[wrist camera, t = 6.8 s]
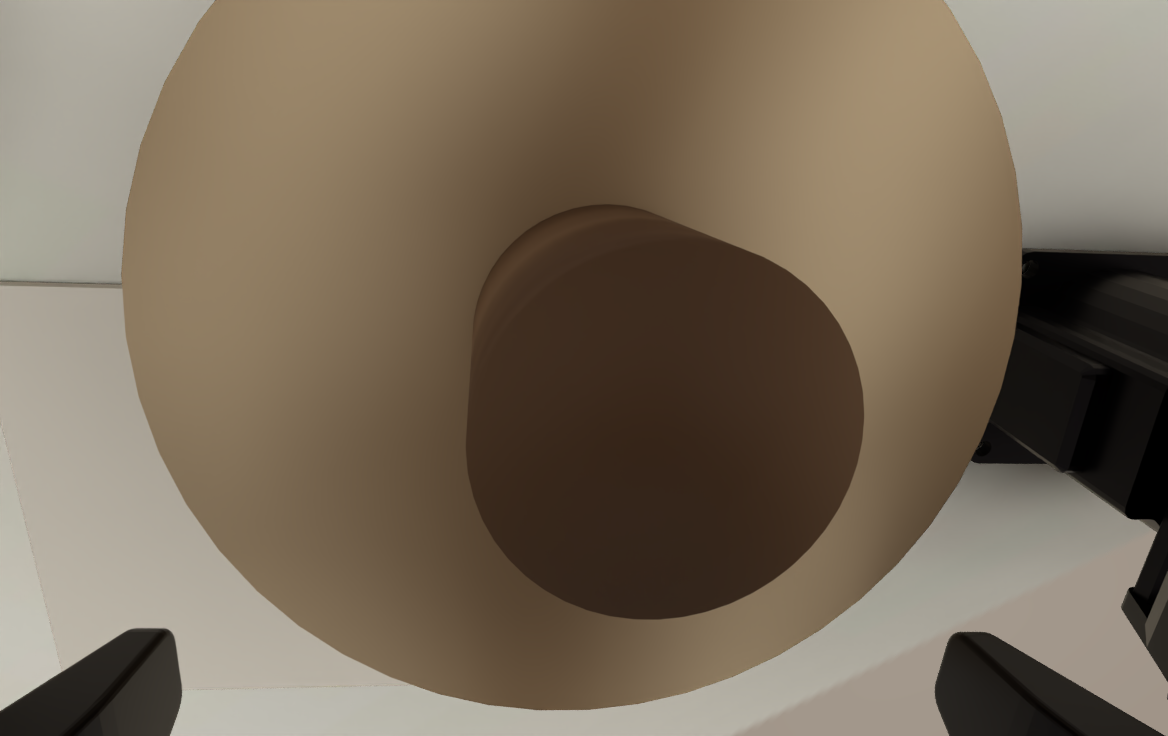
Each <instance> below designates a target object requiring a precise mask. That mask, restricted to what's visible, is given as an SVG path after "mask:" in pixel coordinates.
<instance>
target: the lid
mask: <svg viewBox="0 0 1168 736" xmlns="http://www.w3.org/2000/svg"><path fill="white" fill-rule="evenodd" d="M121 276H122V290H123V305H124V319H125V333H126V340H127V345H128V350H129V354H130V359H131V364H132V368H133V373H134V378H135V382H136V387H137V392H138V396H139V399H140V402H141V405H142V408H143V410H144V413H145V416H146V418H147V421H148V424H149V427H150V429H151V432H152V435H153V438H154V440H155V443H156V446H157V449H158V451H159V454H160V456H161V458H162V459H163V461H164V463H165V465H166V467H167V469H168V471H169V473H170V475H171V476H172V478H173V480H174V482H175V484H176V486H177V488H178V490H179V492H180V493H181V495H182V497H183V499H184V501H185V503H186V505H187V506H188V507H189V509H190V510H191V512H192V513H193V515H194V516H195V517H196V519H197V520H198V522H199V523H200V524H201V526H202V527H203V529H204V530H205V531H206V533H207V534H208V536H209V537H210V538H211V540H212V541H213V543H214V544H215V545H216V547H217V548H218V550H219V551H220V552H221V553H222V554H223V555H224V556H225V557H226V558H227V559H228V561H229V562H230V563H231V564H232V565H233V566H234V567H235V568H236V569H237V570H238V571H239V572H240V573H241V575H242V576H243V577H244V578H245V579H246V580H247V581H248V582H249V583H250V584H251V585H252V586H253V587H254V589H255V590H256V591H257V592H259V593H260V594H261V595H262V596H263V597H265V598H266V599H267V600H268V601H269V602H271V603H272V604H273V605H274V606H275V607H277V608H278V609H279V610H280V611H281V612H283V613H284V614H285V615H286V616H287V617H289V618H290V619H291V620H292V621H293V622H295V623H296V624H297V625H298V626H300V627H301V628H303V629H304V630H306V631H307V632H309V633H311V634H312V635H314V636H315V637H317V638H318V639H320V640H321V641H323V642H325V643H326V644H328V645H329V646H331V647H332V648H334V649H336V650H337V651H339V652H340V653H342V654H343V655H345V656H347V657H349V658H352V659H354V660H356V661H358V662H360V663H362V664H364V665H366V666H368V667H370V668H372V669H374V670H376V671H379V672H381V673H383V674H385V675H387V676H389V677H391V678H394V679H397V680H400V681H403V682H406V683H409V684H411V685H414V686H417V687H420V688H423V689H426V690H429V691H432V692H435V693H438V694H441V695H446V696H450V697H455V698H460V699H464V700H469V701H473V702H478V703H482V704H487V705H494V706H504V707H514V708H524V709H533V710H590V709H599V708H607V707H616V706H624V705H632V704H640V703H644V702H648V701H653V700H657V699H661V698H666V697H670V696H674V695H679V694H683V693H687V692H690V691H693V690H696V689H699V688H702V687H705V686H707V685H710V684H713V683H716V682H719V681H722V680H725V679H728V678H730V677H733V676H736V675H738V674H740V673H742V672H744V671H746V670H748V669H750V668H753V667H755V666H757V665H759V664H761V663H763V662H765V661H767V660H770V659H772V658H774V657H776V656H778V655H780V654H781V653H783V652H785V651H786V650H788V649H790V648H791V647H793V646H795V645H796V644H798V643H799V642H801V641H803V640H804V639H806V638H808V637H809V636H811V635H813V634H814V633H816V632H818V631H819V630H821V629H822V628H823V627H825V626H826V625H827V624H829V623H830V622H831V621H833V620H834V619H835V618H836V617H838V616H839V615H840V614H842V613H843V612H844V611H846V610H847V609H848V608H850V607H851V606H852V605H853V604H855V603H856V602H857V601H859V600H860V599H861V598H862V597H863V596H864V595H865V594H866V593H867V592H869V591H870V590H871V589H872V588H873V587H874V586H875V585H876V584H877V583H878V582H879V581H880V580H881V579H882V578H883V577H884V576H885V575H886V574H887V573H888V572H890V571H891V570H892V569H893V568H894V567H895V566H896V565H897V564H898V563H899V561H900V560H901V559H902V558H903V557H904V555H905V554H906V553H907V552H908V551H909V550H910V548H911V547H912V546H913V545H914V544H915V543H916V541H917V540H918V539H919V538H920V537H921V535H922V534H923V533H924V532H925V531H926V530H927V528H928V527H929V526H930V524H931V523H932V522H933V520H934V519H935V517H936V516H937V514H938V513H939V511H940V510H941V508H942V507H943V505H944V504H945V502H946V501H947V499H948V498H949V496H950V495H951V493H952V492H953V490H954V489H955V487H956V486H957V484H958V483H959V481H960V479H961V477H962V475H963V473H964V471H965V469H966V467H967V466H968V464H969V462H970V460H971V458H972V456H973V454H974V452H975V450H976V448H977V446H978V445H979V443H980V441H981V439H982V437H983V434H984V431H985V429H986V426H987V424H988V421H989V418H990V416H991V413H992V411H993V408H994V406H995V403H996V400H997V398H998V395H999V393H1000V390H1001V387H1002V383H1003V379H1004V375H1005V371H1006V367H1007V363H1008V360H1009V356H1010V352H1011V348H1012V344H1013V340H1014V336H1015V328H1016V321H1017V313H1018V306H1019V298H1020V291H1021V283H1022V223H1021V214H1020V206H1019V197H1018V188H1017V180H1016V172H1015V168H1014V164H1013V160H1012V156H1011V152H1010V148H1009V144H1008V140H1007V136H1006V132H1005V128H1004V124H1003V120H1002V116H1001V113H1000V111H999V108H998V106H997V103H996V101H995V98H994V96H993V93H992V91H991V88H990V86H989V83H988V81H987V78H986V76H985V73H984V71H983V68H982V66H981V63H980V61H979V59H978V58H977V56H976V54H975V52H974V50H973V49H972V47H971V45H970V43H969V42H968V40H967V38H966V36H965V35H964V33H963V31H962V29H961V28H960V26H959V24H958V22H957V21H956V19H955V17H954V15H953V13H952V12H951V10H950V9H949V7H948V6H947V5H946V3H945V2H944V1H943V0H215V2H214V3H213V4H212V6H211V7H210V8H209V9H208V11H207V12H206V13H205V14H204V16H203V17H202V18H201V20H200V21H199V22H198V24H197V26H196V28H195V29H194V31H193V33H192V35H191V36H190V38H189V40H188V42H187V43H186V45H185V47H184V49H183V51H182V52H181V54H180V56H179V58H178V59H177V61H176V63H175V65H174V66H173V68H172V70H171V72H170V73H169V75H168V77H167V79H166V81H165V83H164V85H163V88H162V90H161V93H160V96H159V98H158V101H157V103H156V106H155V109H154V111H153V114H152V116H151V119H150V122H149V124H148V127H147V129H146V132H145V135H144V137H143V140H142V142H141V145H140V150H139V154H138V159H137V163H136V168H135V172H134V176H133V181H132V185H131V190H130V194H129V199H128V203H127V208H126V218H125V232H124V245H123V258H122V272H121Z"/></svg>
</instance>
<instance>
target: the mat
mask: <svg viewBox="0 0 1168 736" xmlns="http://www.w3.org/2000/svg"><path fill="white" fill-rule="evenodd" d="M0 421H1V426H2V430H3V434H4V438H5V442H6V446H7V450H8V454H9V458H10V462H11V466H12V470H13V474H14V478H15V483H16V487H17V491H18V495H19V499H20V503H21V507H22V511H23V515H24V519H25V523H26V527H27V531H28V536H29V540H30V544H31V548H32V552H33V556H34V560H35V564H36V568H37V572H38V576H39V580H40V584H41V588H42V593H43V597H44V601H45V605H46V609H47V613H48V617H49V621H50V625H51V629H52V633H53V637H54V641H55V645H56V650H57V654H58V658H59V662H60V666H61V670H62V671H64V670H65V669H67V668H69V667H70V666H72V665H73V664H75V663H76V662H78V661H80V660H81V659H83V658H84V657H86V656H87V655H89V654H90V653H92V652H94V651H95V650H97V649H98V648H100V647H101V646H103V645H105V644H106V643H108V642H109V641H111V640H112V639H114V638H115V637H117V636H119V635H120V634H122V633H123V632H125V631H127V630H129V629H133V628H166V629H168V630H170V631H171V632H172V633H173V635H174V637H175V641H176V648H177V655H178V662H179V669H180V676H181V683H182V690H214V689H260V688H306V687H352V686H397V685H411V684H409V683H406V682H403V681H400V680H397V679H394V678H391V677H389V676H387V675H385V674H383V673H381V672H379V671H376V670H374V669H372V668H370V667H368V666H366V665H364V664H362V663H360V662H358V661H356V660H354V659H352V658H349V657H347V656H345V655H343V654H342V653H340V652H339V651H337V650H336V649H334V648H332V647H331V646H329V645H328V644H326V643H325V642H323V641H321V640H320V639H318V638H317V637H315V636H314V635H312V634H311V633H309V632H307V631H306V630H304V629H303V628H301V627H300V626H298V625H297V624H296V623H295V622H293V621H292V620H291V619H290V618H289V617H287V616H286V615H285V614H284V613H283V612H281V611H280V610H279V609H278V608H277V607H275V606H274V605H273V604H272V603H271V602H269V601H268V600H267V599H266V598H265V597H263V596H262V595H261V594H260V593H259V592H257V591H256V590H255V589H254V587H253V586H252V585H251V584H250V583H249V582H248V581H247V580H246V579H245V578H244V577H243V576H242V575H241V573H240V572H239V571H238V570H237V569H236V568H235V567H234V566H233V565H232V564H231V563H230V562H229V561H228V559H227V558H226V557H225V556H224V555H223V554H222V553H221V552H220V551H219V550H218V548H217V547H216V545H215V544H214V543H213V541H212V540H211V538H210V537H209V536H208V534H207V533H206V531H205V530H204V529H203V527H202V526H201V524H200V523H199V522H198V520H197V519H196V517H195V516H194V515H193V513H192V512H191V510H190V509H189V507H188V506H187V505H186V503H185V501H184V499H183V497H182V495H181V493H180V492H179V490H178V488H177V486H176V484H175V482H174V480H173V478H172V476H171V475H170V473H169V471H168V469H167V467H166V465H165V463H164V461H163V459H162V458H161V456H160V454H159V451H158V449H157V446H156V443H155V440H154V438H153V435H152V432H151V429H150V427H149V424H148V421H147V418H146V416H145V413H144V410H143V408H142V405H141V402H140V399H139V396H138V392H137V387H136V382H135V378H134V373H133V368H132V364H131V359H130V354H129V350H128V345H127V340H126V333H125V319H124V305H123V290H122V284H83V283H44V282H4V281H0Z"/></svg>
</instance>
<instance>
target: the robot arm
mask: <svg viewBox="0 0 1168 736" xmlns="http://www.w3.org/2000/svg"><path fill="white" fill-rule="evenodd" d="M1027 261H1029V262H1030V267H1029V268H1028V270H1027V271H1026V272H1025V273H1024V274H1022V283H1021V291H1020V298H1019V306H1018V313H1017V321H1016V328H1015V336H1014V340H1013V344H1012V348H1011V352H1010V356H1009V360H1008V363H1007V367H1006V371H1005V375H1004V379H1003V383H1002V387H1001V390H1000V393H999V395H998V398H997V400H996V403H995V406H994V408H993V411H992V413H991V416H990V418H989V421H988V424H987V426H986V429H985V431H984V434H983V437H982V439H981V441H980V442H982V441H984V443H983V445H982V447H980V448H979V449H977V450H975V452H974V454H973V456H972V458H971V461H973V462H975V463H1000V464H1048V465H1050V466H1051V467H1053V468H1054V469H1055V470H1057V471H1059V472H1062V473H1066V474H1067V475H1069V476H1070V477H1071V478H1073V479H1074V480H1076V481H1077V482H1078V483H1080V484H1081V485H1083V486H1084V487H1085V488H1087V489H1088V490H1090V491H1091V492H1092V493H1094V494H1095V495H1097V496H1098V497H1099V498H1101V499H1102V500H1104V501H1105V502H1106V503H1108V504H1109V505H1111V506H1112V507H1113V508H1115V509H1116V510H1117V511H1119V512H1120V513H1122V514H1123V515H1124V516H1126V517H1127V518H1130V519H1134V520H1137V519H1139V520H1140V521H1142V522H1143V523H1145V524H1146V525H1147V526H1149V527H1150V528H1152V529H1153V530H1155V531H1156V532H1157V534H1156V536H1155V539H1154V541H1153V544H1152V546H1151V549H1150V551H1149V554H1148V556H1147V558H1146V561H1145V563H1144V566H1143V568H1142V570H1141V573H1140V576H1139V578H1138V580H1137V583H1136V585H1135V587H1131V588H1129V589H1128V591H1127V594H1126V596H1125V598H1124V601H1123V603H1122V606H1121V608H1122V610H1123V612H1124V613H1125V615H1126V616H1127V618H1128V620H1129V621H1130V623H1131V624H1132V626H1133V628H1134V629H1135V631H1136V632H1137V634H1138V635H1139V637H1140V639H1141V640H1142V642H1143V643H1144V645H1145V647H1146V648H1147V650H1148V651H1149V653H1150V654H1151V656H1152V658H1153V659H1154V661H1155V662H1156V664H1157V665H1158V667H1159V669H1160V670H1161V672H1162V674H1163V675H1164V677H1165V678H1166V680H1167V681H1168V253H1148V252H1118V251H1088V250H1057V249H1027V248H1025V249H1022V266H1023V264H1025V263H1026V262H1027ZM181 698H182V683H181V676H180V669H179V662H178V655H177V648H176V641H175V637H174V635H173V633H172V632H171V631H170V630H168V629H166V628H133V629H129V630H127V631H125V632H123V633H122V634H120V635H119V636H117V637H115V638H114V639H112V640H111V641H109V642H108V643H106V644H105V645H103V646H101V647H100V648H98V649H97V650H95V651H94V652H92V653H90V654H89V655H87V656H86V657H84V658H83V659H81V660H80V661H78V662H76V663H75V664H73V665H72V666H70V667H69V668H67V669H65V670H64V671H62V672H61V673H59V674H58V675H56V676H54V677H53V678H51V679H50V680H48V681H47V682H45V683H44V684H42V685H40V686H39V687H37V688H36V689H34V690H33V691H31V692H29V693H28V694H26V695H25V696H23V697H22V698H20V699H19V700H17V701H15V702H14V703H12V704H11V705H9V706H8V707H6V708H4V709H3V710H1V711H0V736H170V734H171V731H172V728H173V725H174V723H175V720H176V717H177V714H178V711H179V708H180V704H181ZM935 699H936V703H937V706H938V709H939V712H940V714H941V717H942V719H943V722H944V724H945V726H946V729H947V731H948V734H949V736H1164V735H1163V734H1161V733H1159V732H1158V731H1156V730H1154V729H1152V728H1151V727H1149V726H1147V725H1146V724H1144V723H1142V722H1141V721H1138V720H1137V719H1135V718H1134V717H1132V716H1130V715H1129V714H1127V713H1125V712H1123V711H1122V710H1120V709H1118V708H1117V707H1115V706H1113V705H1112V704H1109V703H1108V702H1106V701H1105V700H1103V699H1101V698H1100V697H1098V696H1096V695H1094V694H1093V693H1091V692H1089V691H1088V690H1086V689H1084V688H1083V687H1081V686H1079V685H1077V684H1076V683H1074V682H1072V681H1071V680H1069V679H1067V678H1065V677H1064V676H1062V675H1060V674H1059V673H1057V672H1055V671H1053V670H1052V669H1050V668H1048V667H1047V666H1045V665H1043V664H1042V663H1040V662H1038V661H1036V660H1035V659H1033V658H1031V657H1030V656H1028V655H1026V654H1025V653H1023V652H1021V651H1019V650H1018V649H1016V648H1014V647H1013V646H1011V645H1009V644H1007V643H1006V642H1004V641H1002V640H1001V639H999V638H997V637H996V636H994V635H991V634H990V633H986V632H957V633H955V634H953V635H952V636H951V637H950V639H949V641H948V643H947V646H946V650H945V653H944V656H943V660H942V663H941V666H940V670H939V673H938V677H937V680H936V684H935ZM1167 699H1168V696H1167Z"/></svg>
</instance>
